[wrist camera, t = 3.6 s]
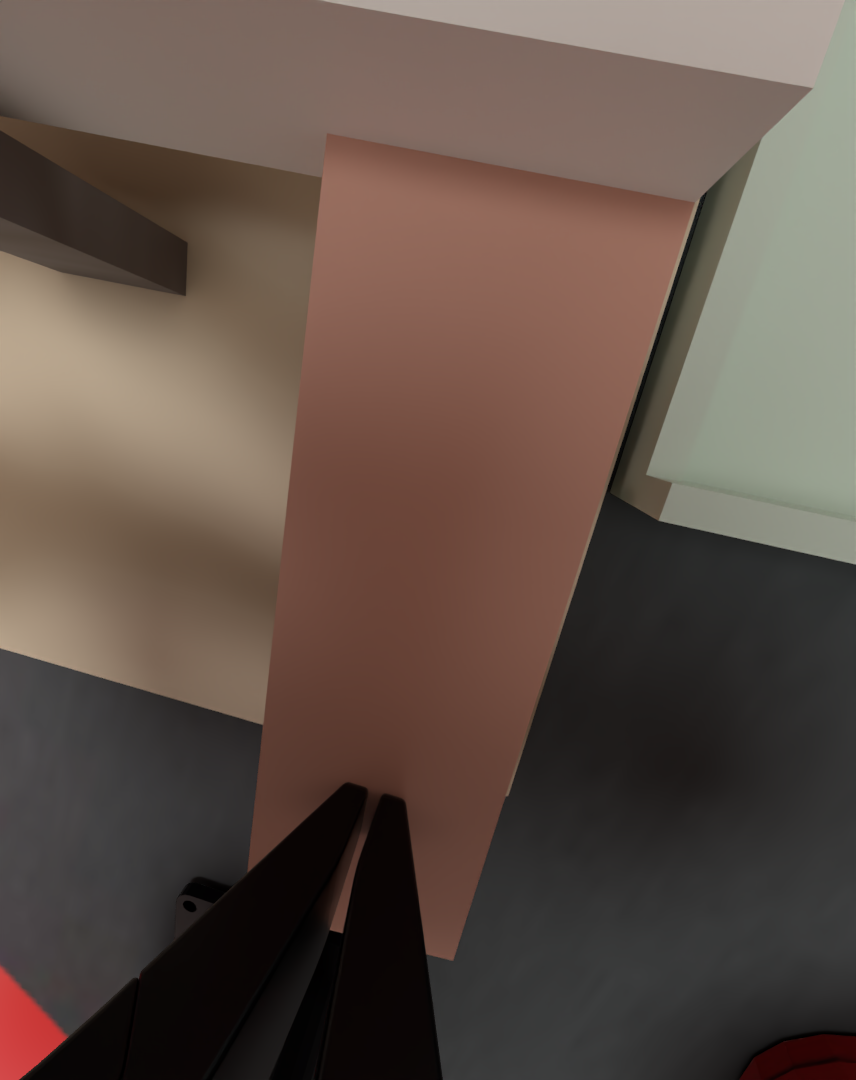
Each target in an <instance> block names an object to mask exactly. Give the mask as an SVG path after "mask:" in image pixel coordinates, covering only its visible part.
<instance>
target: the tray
mask: <svg viewBox="0 0 856 1080" xmlns="http://www.w3.org/2000/svg"><path fill="white" fill-rule="evenodd" d="M610 493H611V494H613V495H615V496H616V497H618V498H620V499H622V500H623V501H625V502H627V503H629V504H630V505H632V506H634V507H636V508H637V509H639V510H641V511H643V512H644V513H646V514H648V515H650V516H651V517H653V518H655V519H657V520H658V521H662V522H667V523H671V524H676V525H680V526H685V527H689V528H694V529H698V530H703V531H707V532H712V533H716V534H721V535H725V536H730V537H734V538H739V539H743V540H748V541H752V542H757V543H761V544H766V545H770V546H775V547H779V548H784V549H789V550H793V551H798V552H802V553H807V554H811V555H816V556H820V557H825V558H829V559H834V560H838V561H843V562H847V563H852V564H856V0H845V2H844V5H843V7H842V10H841V13H840V16H839V18H838V21H837V24H836V27H835V30H834V32H833V35H832V38H831V41H830V43H829V46H828V49H827V52H826V54H825V57H824V60H823V63H822V65H821V68H820V71H819V74H818V76H817V79H816V82H815V85H814V87H813V89H812V90H811V91H810V92H809V93H808V94H807V95H806V96H805V97H804V98H803V99H802V100H800V101H799V102H798V103H797V104H796V105H795V106H794V107H793V108H792V109H791V110H790V111H789V112H788V113H787V114H786V115H785V116H784V117H783V118H782V119H781V120H780V121H779V122H778V123H777V124H776V125H775V126H774V127H773V128H772V129H770V130H769V131H768V132H767V133H766V134H765V135H764V136H763V137H762V138H761V139H760V140H759V141H758V142H757V143H756V144H755V145H754V146H753V147H752V148H751V149H750V150H749V151H748V152H747V153H746V154H745V155H744V156H743V157H742V158H741V159H739V160H738V161H737V162H736V163H735V164H734V165H733V166H732V167H731V168H730V169H729V170H728V171H727V172H726V173H725V174H724V175H723V176H722V177H721V178H720V179H719V180H718V181H717V182H716V183H715V184H714V185H713V186H712V187H711V188H709V189H708V191H707V194H706V197H705V200H704V203H703V207H702V210H701V213H700V216H699V219H698V222H697V225H696V228H695V231H694V234H693V237H692V241H691V244H690V247H689V250H688V253H687V256H686V259H685V262H684V265H683V268H682V271H681V274H680V278H679V281H678V284H677V287H676V290H675V293H674V296H673V299H672V302H671V305H670V308H669V312H668V315H667V318H666V321H665V324H664V327H663V330H662V333H661V336H660V339H659V342H658V345H657V349H656V352H655V355H654V358H653V361H652V364H651V367H650V370H649V373H648V376H647V379H646V382H645V386H644V389H643V392H642V395H641V398H640V401H639V404H638V407H637V410H636V413H635V416H634V420H633V423H632V426H631V429H630V432H629V435H628V438H627V441H626V444H625V447H624V450H623V453H622V457H621V460H620V463H619V466H618V469H617V472H616V475H615V478H614V481H613V484H612V487H611V491H610Z"/></svg>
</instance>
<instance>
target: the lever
mask: <svg viewBox="0 0 856 1080" xmlns="http://www.w3.org/2000/svg"><path fill="white" fill-rule="evenodd" d="M844 2H845V0H0V116H3V117H8V118H14V119H19V120H24V121H29V122H35V123H40V124H45V125H50V126H55V127H61V128H66V129H71V130H76V131H82V132H87V133H92V134H97V135H102V136H108V137H113V138H118V139H123V140H129V141H134V142H139V143H144V144H149V145H155V146H160V147H165V148H170V149H176V150H181V151H186V152H191V153H196V154H202V155H207V156H212V157H217V158H222V159H228V160H233V161H238V162H243V163H249V164H254V165H259V166H264V167H269V168H275V169H280V170H285V171H290V172H296V173H301V174H306V175H311V176H316V177H322V183H321V192H320V202H319V211H318V220H317V230H316V239H315V248H314V257H313V267H312V276H311V285H310V295H309V304H308V313H307V323H306V332H305V341H304V350H303V360H302V369H301V378H300V388H299V397H298V406H297V415H296V425H295V434H294V443H293V453H292V462H291V471H290V480H289V490H288V499H287V508H286V518H285V527H284V536H283V545H282V555H281V564H280V573H279V583H278V592H277V601H276V610H275V620H274V629H273V638H272V648H271V657H270V666H269V676H268V685H267V694H266V703H265V713H264V722H263V731H262V741H261V750H260V759H259V768H258V778H257V787H256V796H255V806H254V815H253V824H252V833H251V843H250V852H249V861H248V871H247V873H248V872H249V871H250V870H251V869H252V868H253V867H254V866H255V865H256V864H257V863H258V862H259V861H260V860H262V859H263V858H264V857H265V856H266V855H267V854H268V853H269V852H270V851H271V850H272V849H273V848H274V847H276V846H277V845H278V844H279V843H280V842H281V841H282V840H283V839H284V838H285V837H286V836H287V835H289V834H290V833H291V832H292V831H293V830H294V829H295V828H296V827H297V826H298V825H299V824H300V823H301V822H303V821H304V820H305V819H306V818H307V817H308V816H309V815H310V814H311V813H312V812H313V811H314V810H315V809H317V808H318V807H319V806H320V805H321V804H322V803H323V802H324V801H325V800H326V799H327V798H328V797H330V796H331V795H332V794H333V793H334V792H335V791H336V790H337V789H338V788H339V787H340V786H341V785H343V784H344V783H346V782H350V783H353V784H357V785H360V786H363V787H366V788H367V789H368V798H367V803H366V807H365V812H364V817H363V822H362V827H361V831H360V835H359V839H358V842H357V845H356V848H355V851H354V854H353V858H352V861H351V864H350V867H349V870H348V874H347V877H346V880H345V883H344V886H343V889H342V893H341V896H340V899H339V902H338V905H337V908H336V912H335V915H334V918H333V921H332V924H331V927H330V930H332V931H336V932H340V933H343V928H344V923H345V918H346V913H347V909H348V904H349V899H350V894H351V889H352V884H353V880H354V875H355V871H356V867H357V863H358V860H359V857H360V854H361V851H362V848H363V845H364V842H365V840H366V837H367V834H368V831H369V828H370V825H371V822H372V820H373V817H374V814H375V811H376V808H377V805H378V803H379V800H380V797H381V796H382V795H383V794H389V795H393V796H396V797H399V798H402V799H404V800H405V802H406V806H407V814H408V821H409V829H410V836H411V844H412V851H413V859H414V866H415V874H416V881H417V889H418V896H419V904H420V912H421V919H422V927H423V934H424V942H425V949H426V954H428V955H432V956H436V957H440V958H444V959H448V960H451V961H453V959H454V956H455V953H456V950H457V947H458V944H459V941H460V937H461V934H462V931H463V928H464V925H465V922H466V919H467V915H468V912H469V909H470V906H471V903H472V900H473V897H474V894H475V890H476V887H477V884H478V881H479V878H480V875H481V872H482V868H483V865H484V862H485V859H486V856H487V853H488V850H489V847H490V843H491V840H492V837H493V834H494V831H495V828H496V825H497V821H498V818H499V815H500V812H501V809H502V806H503V803H504V800H505V796H506V793H507V790H508V787H509V784H510V781H511V778H512V774H513V771H514V768H515V765H516V762H517V759H518V756H519V752H520V749H521V746H522V743H523V740H524V737H525V734H526V731H527V727H528V724H529V721H530V718H531V715H532V712H533V709H534V705H535V702H536V699H537V696H538V693H539V690H540V687H541V684H542V680H543V677H544V674H545V671H546V668H547V665H548V662H549V658H550V655H551V652H552V649H553V646H554V643H555V640H556V637H557V633H558V630H559V627H560V624H561V621H562V618H563V615H564V611H565V608H566V605H567V602H568V599H569V596H570V593H571V590H572V586H573V583H574V580H575V577H576V574H577V571H578V568H579V564H580V561H581V558H582V555H583V552H584V549H585V546H586V542H587V539H588V536H589V533H590V530H591V527H592V524H593V521H594V517H595V514H596V511H597V508H598V505H599V502H600V499H601V495H602V492H603V489H604V486H605V483H606V480H607V477H608V474H609V470H610V467H611V464H612V461H613V458H614V455H615V452H616V448H617V445H618V442H619V439H620V436H621V433H622V430H623V427H624V423H625V420H626V417H627V414H628V411H629V408H630V405H631V401H632V398H633V395H634V392H635V389H636V386H637V383H638V379H639V376H640V373H641V370H642V367H643V364H644V361H645V358H646V354H647V351H648V348H649V345H650V342H651V339H652V336H653V332H654V329H655V326H656V323H657V320H658V317H659V314H660V311H661V307H662V304H663V301H664V298H665V295H666V292H667V289H668V285H669V282H670V279H671V276H672V273H673V270H674V267H675V264H676V260H677V257H678V254H679V251H680V248H681V245H682V242H683V238H684V235H685V232H686V229H687V226H688V223H689V220H690V216H691V213H692V210H693V207H694V204H695V202H696V201H697V200H698V199H699V198H700V197H701V196H702V195H703V194H704V193H705V192H706V191H707V190H708V189H709V188H711V187H712V186H713V185H714V184H715V183H716V182H717V181H718V180H719V179H720V178H721V177H722V176H723V175H724V174H725V173H726V172H727V171H728V170H729V169H730V168H731V167H732V166H733V165H734V164H735V163H736V162H737V161H738V160H739V159H741V158H742V157H743V156H744V155H745V154H746V153H747V152H748V151H749V150H750V149H751V148H752V147H753V146H754V145H755V144H756V143H757V142H758V141H759V140H760V139H761V138H762V137H763V136H764V135H765V134H766V133H767V132H768V131H769V130H770V129H772V128H773V127H774V126H775V125H776V124H777V123H778V122H779V121H780V120H781V119H782V118H783V117H784V116H785V115H786V114H787V113H788V112H789V111H790V110H791V109H792V108H793V107H794V106H795V105H796V104H797V103H798V102H799V101H800V100H802V99H803V98H804V97H805V96H806V95H807V94H808V93H809V92H810V91H811V90H812V89H813V87H814V85H815V82H816V79H817V76H818V74H819V71H820V68H821V65H822V63H823V60H824V57H825V54H826V52H827V49H828V46H829V43H830V41H831V38H832V35H833V32H834V30H835V27H836V24H837V21H838V18H839V16H840V13H841V10H842V7H843V5H844Z"/></svg>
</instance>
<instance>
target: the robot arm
mask: <svg viewBox="0 0 856 1080" xmlns="http://www.w3.org/2000/svg"><path fill="white" fill-rule="evenodd" d="M367 798H368V789H367V788H366V787H363V786H360V785H357V784H353V783H350V782H346V783H344V784H343V785H341V786H340V787H339V788H338V789H337V790H336V791H335V792H334V793H333V794H332V795H331V796H330V797H328V798H327V799H326V800H325V801H324V802H323V803H322V804H321V805H320V806H319V807H318V808H317V809H315V810H314V811H313V812H312V813H311V814H310V815H309V816H308V817H307V818H306V819H305V820H304V821H303V822H301V823H300V824H299V825H298V826H297V827H296V828H295V829H294V830H293V831H292V832H291V833H290V834H289V835H287V836H286V837H285V838H284V839H283V840H282V841H281V842H280V843H279V844H278V845H277V846H276V847H274V848H273V849H272V850H271V851H270V852H269V853H268V854H267V855H266V856H265V857H264V858H263V859H262V860H260V861H259V862H258V863H257V864H256V865H255V866H254V867H253V868H252V869H251V870H250V871H249V872H248V873H246V874H245V875H244V876H243V877H242V878H241V879H240V880H239V881H238V882H237V883H236V884H235V885H234V886H232V887H231V888H230V889H229V890H228V891H227V892H226V893H225V892H222V891H219V890H216V889H213V888H210V887H207V886H204V885H201V884H198V883H189V884H187V885H186V886H185V888H184V889H183V891H182V892H181V893H180V895H179V896H178V898H177V901H176V916H175V939H174V941H173V942H172V943H171V944H170V945H169V946H168V947H167V948H166V949H164V950H163V951H162V952H161V953H160V954H159V955H158V956H157V957H156V958H155V959H154V960H153V961H152V962H150V963H149V964H148V965H147V966H146V967H145V968H144V969H143V970H142V971H141V973H140V976H139V980H138V978H133V979H132V980H131V981H130V982H128V983H127V984H126V985H125V986H124V987H123V988H122V989H121V990H120V991H119V992H118V993H117V994H116V995H114V996H113V997H112V998H111V999H110V1000H109V1001H108V1002H107V1003H106V1004H105V1005H104V1006H103V1007H102V1008H100V1009H99V1010H98V1011H97V1012H96V1013H95V1014H94V1015H93V1016H92V1017H90V1018H89V1019H88V1020H87V1021H86V1022H85V1023H84V1024H83V1025H81V1026H80V1027H79V1028H78V1029H77V1030H76V1031H75V1032H74V1033H73V1034H71V1035H70V1036H69V1037H68V1038H67V1039H66V1040H65V1041H64V1042H62V1043H61V1044H60V1045H59V1046H58V1047H57V1048H56V1049H55V1050H54V1051H52V1052H51V1053H50V1054H49V1055H48V1056H47V1057H46V1058H44V1059H43V1060H42V1061H41V1062H40V1063H39V1064H38V1065H36V1066H35V1067H34V1068H33V1069H32V1070H31V1071H29V1072H28V1073H27V1074H26V1075H24V1076H23V1077H22V1078H21V1079H20V1080H443V1077H442V1070H441V1062H440V1055H439V1047H438V1040H437V1032H436V1025H435V1017H434V1009H433V1002H432V994H431V987H430V979H429V972H428V964H427V957H426V949H425V942H424V934H423V927H422V919H421V912H420V904H419V896H418V889H417V881H416V874H415V866H414V859H413V851H412V844H411V836H410V829H409V821H408V814H407V806H406V802H405V800H404V799H402V798H399V797H396V796H393V795H389V794H383V795H382V796H381V797H380V800H379V803H378V805H377V808H376V811H375V814H374V817H373V820H372V822H371V825H370V828H369V831H368V834H367V837H366V840H365V842H364V845H363V848H362V851H361V854H360V857H359V860H358V863H357V867H356V871H355V875H354V880H353V884H352V889H351V894H350V899H349V904H348V909H347V913H346V918H345V923H344V928H343V933H340V932H336V931H332V930H330V927H331V924H332V921H333V918H334V915H335V912H336V908H337V905H338V902H339V899H340V896H341V893H342V889H343V886H344V883H345V880H346V877H347V874H348V870H349V867H350V864H351V861H352V858H353V854H354V851H355V848H356V845H357V842H358V839H359V835H360V831H361V827H362V822H363V817H364V812H365V807H366V803H367Z"/></svg>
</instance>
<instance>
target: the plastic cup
mask: <svg viewBox="0 0 856 1080" xmlns="http://www.w3.org/2000/svg"><path fill="white" fill-rule="evenodd" d="M740 1080H856V1036H842V1035H827V1034H822V1035H817V1036H811V1037H806V1038H800V1039H795V1040H789V1041H784V1042H782V1043H780V1044H778V1045H776V1046H774V1047H773V1048H771V1049H769V1050H767V1051H765V1052H763V1053H761V1054H760V1055H758V1056H756V1057H754V1059H753V1060H752V1062H751V1063H750V1064H749V1066H748V1067H747V1069H746V1070H745V1072H744V1073H743V1075H742V1076H741V1078H740Z"/></svg>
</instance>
